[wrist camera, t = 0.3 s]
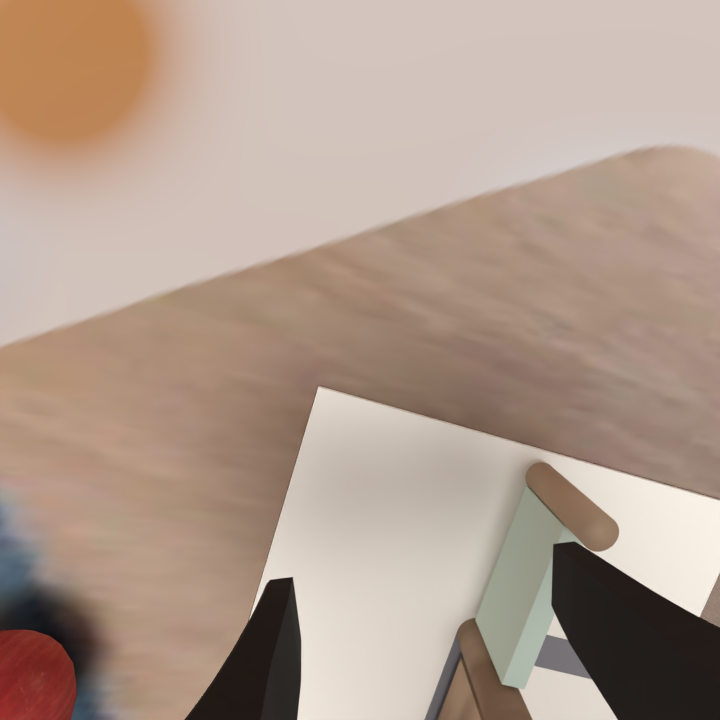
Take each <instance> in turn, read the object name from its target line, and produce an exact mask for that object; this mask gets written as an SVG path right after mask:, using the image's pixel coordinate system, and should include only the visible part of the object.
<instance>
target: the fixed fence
mask: <svg viewBox="0 0 720 720" xmlns="http://www.w3.org/2000/svg"><path fill="white" fill-rule="evenodd" d="M475 619H476V618H472V619H469V620H466V621H465V622H463V623H462V624H461V625H460V627H459V628H458V633H457V640H458V643H459V646H460V649H461V652H462V655H463V658H464V659H460V662H459V665H458V667H457V670H456V672H455V675H454V678H453V680H452V683H451V686H450V688H449V691H448V694H447V696H446V699H445V702H444V704H443V707H442V710H441V712H440V715H439V718H438V720H532V717H531V715H530V713H529V711H528V708H527V706H526V704H525V702H524V700H523V697H522V695H521V693H520V691H519V688H516V687H511V686H507V685H503V684H501V681H500V679H499V676H498V674H497V671H496V669H495V667H494V664H493V662H492V659H491V657H490V654H489V652H488V650H487V647H486V645H485V642H484V640H483V637H482V635H481V633H480V630H479V628H478V625H477V623H476V620H475Z"/></svg>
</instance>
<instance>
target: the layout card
mask: <svg viewBox="0 0 720 720" xmlns="http://www.w3.org/2000/svg"><path fill="white" fill-rule="evenodd" d="M539 462H544V463H547V464H549V465H551V466H552V467H553V468H554V469H555V470H556V471H558V472H559V473H560V474H561V475H562V476H563V477H565V478H566V479H567V480H568V481H569V482H570V483H572V484H573V485H574V486H575V487H576V488H577V489H579V490H580V491H581V492H582V493H583V494H584V495H586V496H587V497H588V498H589V499H590V500H591V501H593V502H594V503H595V504H596V505H597V506H598V507H600V508H601V509H602V510H603V511H604V512H605V513H607V514H608V515H609V516H610V517H611V518H612V519H614V520H615V521H616V523H617V525H618V527H619V536H618V539H617V541H616V542H615V544H614V545H613V546H612V547H610V548H609V549H607V550H605V551H601V552H595V551H591V550H590V551H591V552H593V553H594V554H596V555H597V556H599V557H600V558H602V559H604V560H605V561H607V562H608V563H610V564H611V565H613V566H614V567H616V568H617V569H619V570H621V571H622V572H624V573H625V574H627V575H628V576H630V577H632V578H633V579H635V580H636V581H638V582H640V583H641V584H643V585H644V586H646V587H648V588H649V589H651V590H652V591H654V592H656V593H658V594H659V595H661V596H663V597H664V598H666V599H668V600H669V601H671V602H673V603H675V604H676V605H678V606H680V607H682V608H684V609H685V610H687V611H689V612H691V613H692V614H694V615H696V616H698V617H700V615H701V612H702V610H703V608H704V606H705V604H706V601H707V599H708V597H709V595H710V593H711V590H712V588H713V586H714V584H715V582H716V580H717V577H718V575H719V573H720V499H716V498H713V497H709V496H706V495H702V494H699V493H695V492H691V491H688V490H684V489H681V488H677V487H674V486H670V485H667V484H663V483H660V482H656V481H653V480H649V479H646V478H642V477H639V476H635V475H632V474H628V473H625V472H621V471H618V470H614V469H611V468H607V467H604V466H600V465H597V464H593V463H590V462H586V461H582V460H579V459H575V458H572V457H568V456H565V455H561V454H558V453H554V452H551V451H547V450H544V449H540V448H537V447H533V446H530V445H526V444H523V443H519V442H516V441H512V440H509V439H505V438H502V437H498V436H495V435H491V434H488V433H484V432H481V431H477V430H473V429H470V428H466V427H463V426H459V425H456V424H452V423H449V422H445V421H442V420H438V419H435V418H431V417H428V416H424V415H421V414H417V413H414V412H410V411H407V410H403V409H400V408H396V407H393V406H389V405H386V404H382V403H379V402H375V401H372V400H368V399H364V398H361V397H357V396H354V395H350V394H347V393H343V392H340V391H336V390H333V389H329V388H326V387H322V386H318V390H317V393H316V396H315V400H314V403H313V406H312V410H311V413H310V416H309V420H308V423H307V427H306V430H305V433H304V437H303V440H302V443H301V447H300V450H299V454H298V457H297V460H296V464H295V467H294V470H293V474H292V477H291V481H290V484H289V487H288V491H287V494H286V497H285V501H284V504H283V507H282V511H281V514H280V518H279V521H278V524H277V528H276V531H275V534H274V538H273V541H272V545H271V548H270V551H269V555H268V558H267V561H266V565H265V568H264V572H263V575H262V578H261V582H260V585H259V588H258V592H257V595H256V598H255V602H254V605H253V609H252V612H251V615H250V618H251V616H252V614H253V612H254V610H255V608H256V606H257V604H258V602H259V600H260V597H261V595H262V593H263V591H264V588H265V586H266V584H267V583H268V582H269V580H272V579H280V578H288V577H293V581H294V589H295V596H296V603H297V611H298V618H299V625H300V633H301V688H300V698H299V707H298V717H297V720H438V718H439V715H440V712H441V710H442V707H443V704H444V702H445V699H446V696H447V694H448V691H449V688H450V686H451V683H452V680H453V678H454V675H455V672H456V670H457V667H458V665H459V662H460V659H464V658H463V655H462V652H461V649H460V646H459V643H458V640H457V633H458V628H459V627H460V625H461V624H462V623H463V622H465V621H466V620H469V619H472V618H476V617H477V614H478V611H479V609H480V606H481V603H482V601H483V598H484V595H485V593H486V590H487V588H488V585H489V582H490V580H491V577H492V574H493V572H494V569H495V566H496V564H497V561H498V558H499V556H500V553H501V550H502V548H503V545H504V542H505V540H506V537H507V534H508V532H509V529H510V526H511V524H512V521H513V518H514V516H515V513H516V511H517V508H518V505H519V503H520V500H521V497H522V495H523V492H524V489H525V487H526V486H528V485H527V483H526V479H525V476H526V472H527V470H528V469H529V468H530V467H531V466H532V465H533V464H535V463H539ZM583 547H585V546H584V545H583ZM585 548H586V547H585ZM586 549H588V548H586ZM588 550H589V549H588ZM249 620H250V619H249ZM519 691H520V693H521V695H522V697H523V700H524V702H525V704H526V706H527V708H528V711H529V713H530V715H531V717H532V720H618V719H617V718H616V716H615V715H614V713H613V712H612V710H611V708H610V707H609V705H608V704H607V702H606V701H605V699H604V697H603V696H602V694H601V693H600V691H599V690H598V688H597V686H596V685H595V683H594V682H593V680H592V679H591V677H590V675H589V674H588V672H587V671H586V669H585V667H584V666H583V664H582V663H581V661H580V659H579V658H578V656H577V655H576V653H575V651H574V650H573V648H572V647H571V645H570V643H569V641H568V639H567V637H566V635H565V633H564V631H563V629H562V627H561V625H560V623H559V621H558V619H557V617H556V615H554V617H553V620H552V622H551V625H550V627H549V630H548V632H547V635H546V637H545V640H544V642H543V645H542V647H541V649H540V652H539V654H538V657H537V659H536V662H535V664H534V667H533V669H532V672H531V674H530V677H529V679H528V682H527V684H526V687H525V689H520V688H519Z"/></svg>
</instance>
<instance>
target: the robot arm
mask: <svg viewBox="0 0 720 720" xmlns="http://www.w3.org/2000/svg"><path fill="white" fill-rule="evenodd" d="M551 606H552V608H553V610H554V612H555V615H556V617H557V619H558V621H559V623H560V625H561V627H562V629H563V631H564V633H565V635H566V637H567V639H568V641H569V643H570V645H571V647H572V648H573V650H574V651H575V653H576V655H577V656H578V658H579V659H580V661H581V663H582V664H583V666H584V667H585V669H586V671H587V672H588V674H589V675H590V677H591V679H592V680H593V682H594V683H595V685H596V686H597V688H598V690H599V691H600V693H601V694H602V696H603V697H604V699H605V701H606V702H607V704H608V705H609V707H610V708H611V710H612V712H613V713H614V715H615V716H616V718H617V719H618V720H720V628H719V627H717V626H715V625H713V624H711V623H709V622H707V621H706V620H704V619H702V618H700V617H698V616H696V615H694V614H692V613H691V612H689V611H687V610H685V609H684V608H682V607H680V606H678V605H676V604H675V603H673V602H671V601H669V600H668V599H666V598H664V597H663V596H661V595H659V594H658V593H656V592H654V591H652V590H651V589H649V588H648V587H646V586H644V585H643V584H641V583H640V582H638V581H636V580H635V579H633V578H632V577H630V576H628V575H627V574H625V573H624V572H622V571H621V570H619V569H617V568H616V567H614V566H613V565H611V564H610V563H608V562H607V561H605V560H604V559H602V558H600V557H599V556H597V555H596V554H594V553H593V552H591V551H590V550H588V549H586V548H585V547H583V546H582V545H580V544H578V543H577V542H575V541H573V542H565V543H557V544H553V565H552V598H551ZM300 688H301V633H300V625H299V618H298V611H297V603H296V596H295V589H294V581H293V577H288V578H280V579H272V580H269V582H268V583H267V584H266V586H265V588H264V591H263V593H262V595H261V597H260V600H259V602H258V604H257V606H256V608H255V610H254V612H253V614H252V616H251V618H250V620H249V621H248V623H247V625H246V627H245V629H244V630H243V632H242V634H241V636H240V638H239V639H238V641H237V643H236V645H235V646H234V648H233V650H232V652H231V653H230V655H229V656H228V658H227V659H226V661H225V663H224V664H223V666H222V667H221V669H220V671H219V672H218V674H217V675H216V677H215V678H214V680H213V681H212V683H211V684H210V686H209V687H208V689H207V690H206V692H205V693H204V694H203V696H202V697H201V699H200V700H199V701H198V703H197V704H196V705H195V707H194V708H193V709H192V711H191V712H190V713H189V715H188V716H187V717H186V718H185V720H297V717H298V707H299V698H300Z"/></svg>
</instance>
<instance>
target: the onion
mask: <svg viewBox="0 0 720 720" xmlns="http://www.w3.org/2000/svg"><path fill="white" fill-rule="evenodd" d="M76 696H77V691H76V678H75V672H74V666H73V662H72V661H71V659H70V657H69V656H68V654H67V653H66V651H65V650H64V648H63V646H62V645H61V644H60V643H58V642H57V641H56V640H55V639H53V638H52V637H51V636H49V635H45V634H42V633H39V632H36V631H33V630H2V631H0V720H71V716H72V712H73V708H74V704H75V700H76Z"/></svg>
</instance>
